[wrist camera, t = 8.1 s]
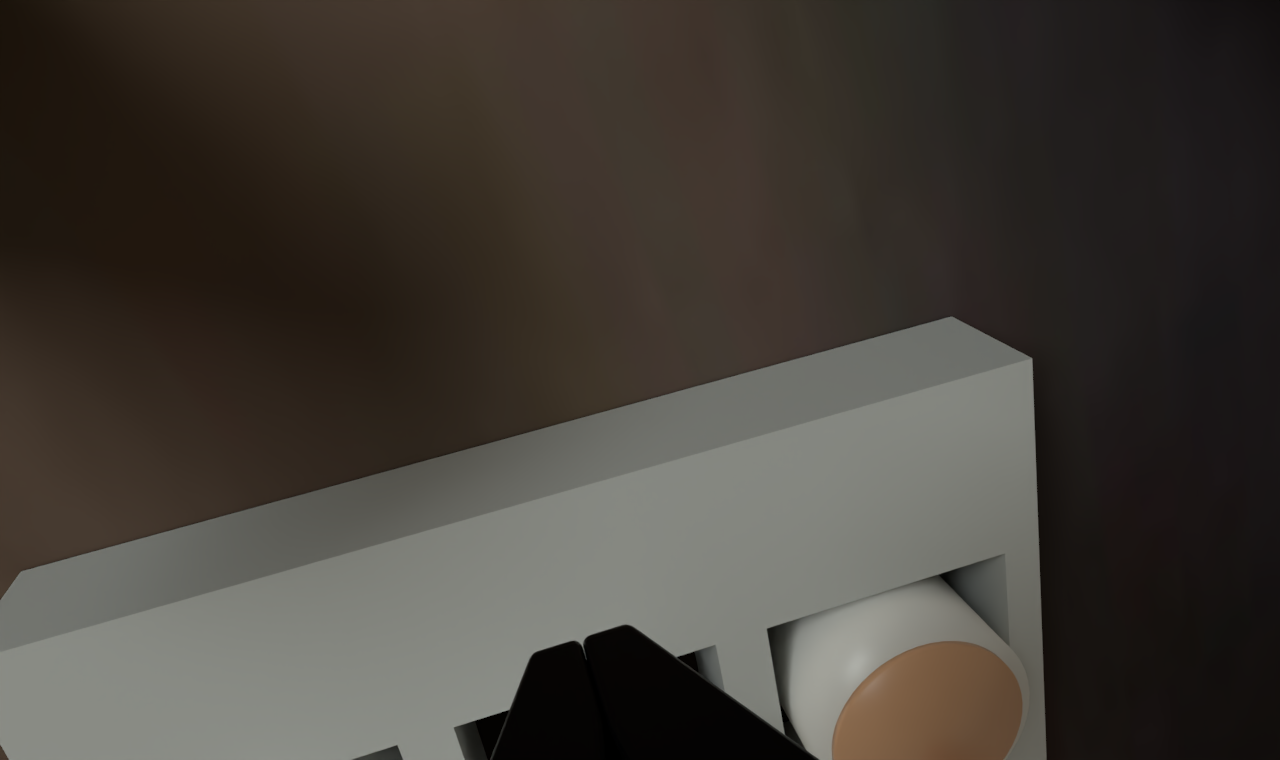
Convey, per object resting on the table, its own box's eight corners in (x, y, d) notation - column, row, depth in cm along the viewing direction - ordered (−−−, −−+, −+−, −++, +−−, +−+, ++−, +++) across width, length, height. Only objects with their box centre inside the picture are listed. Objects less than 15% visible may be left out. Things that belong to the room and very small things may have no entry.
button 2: (930, 512, 23) (1031, 604, 19) (943, 671, 24) (1038, 783, 21) (740, 569, 22) (808, 677, 18) (769, 728, 24) (835, 856, 20)
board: (951, 316, 21) (1032, 358, 19) (984, 780, 27) (1050, 866, 24) (21, 571, 19) (-46, 664, 16) (264, 1033, 24) (245, 1164, 21)
